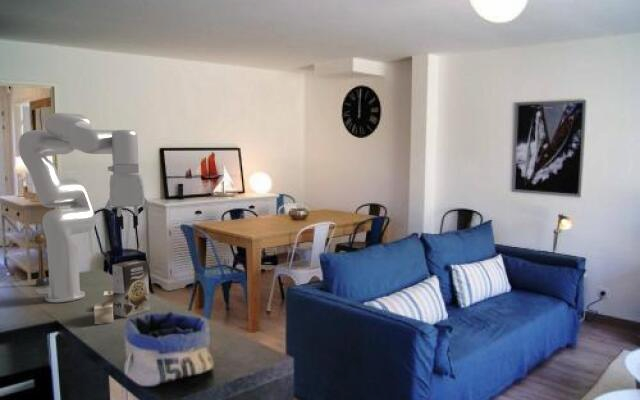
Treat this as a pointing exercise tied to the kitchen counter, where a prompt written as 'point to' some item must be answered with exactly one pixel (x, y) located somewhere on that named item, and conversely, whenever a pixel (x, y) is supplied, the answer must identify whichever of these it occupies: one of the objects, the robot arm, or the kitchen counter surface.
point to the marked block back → (108, 297)
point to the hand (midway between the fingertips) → (128, 227)
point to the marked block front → (103, 313)
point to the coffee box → (130, 288)
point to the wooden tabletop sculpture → (40, 261)
